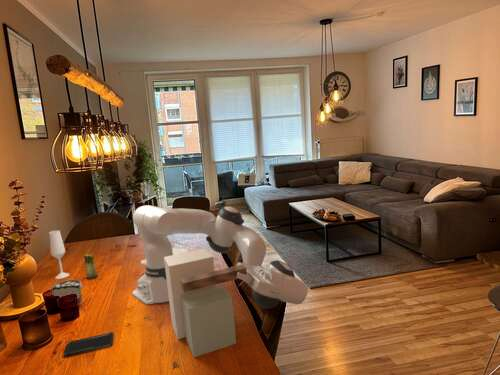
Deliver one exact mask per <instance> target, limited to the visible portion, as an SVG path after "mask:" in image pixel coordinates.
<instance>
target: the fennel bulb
mask: <svg viewBox="0 0 500 375" xmlns="http://www.w3.org/2000/svg"><path fill="white" fill-rule="evenodd" d="M83 258H84V263H85V264H84V266H85V272H86V277H87V278H88V279H94V278H96V277H97V275H98V271H97V269H96V267H95V263H94V256H93V255H92V254H84V255H83Z"/></svg>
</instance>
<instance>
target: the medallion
mask: <svg viewBox="0 0 500 375" xmlns="http://www.w3.org/2000/svg"><path fill="white" fill-rule="evenodd" d="M172 252H173V255H176V254H181V253H186V252H190V250H189V249H187V248H184V247H178V246H177V247H172ZM140 264H141V265H147V262H146V258H145V259H142V260H140Z"/></svg>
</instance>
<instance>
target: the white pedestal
mask: <svg viewBox="0 0 500 375" xmlns="http://www.w3.org/2000/svg"><path fill="white" fill-rule="evenodd" d="M189 251H190V250H189ZM214 262H215V260H214V256H213V254H211V253H210V252H209V250H207V249H206V248H201V249H196V250H191V251H190V252H186V253H181V254H176V255H171V256H166V257H164V263H165V271H166V279H167V287H168V296H169V301H168V302H169V310H170V318H171V319H170V320H171V326H172V328H173V332H174V334H175V336H176V339H177V340H182V339H184V338H185V339H186V332H185V323H184V315H183V306H182V298H181V296H182V295H186V294H190V293H194V292H198V291H202V290H206V289H210V288H214V287H217V284H216V285H212V286H208V287H204V288H200V289H197V290H193V291H189V292H185V293H184V292H183V290H182V289H181V281H180V279H184V278H188V277H192V276H196V275H201V274H205V273H209V272H213V271H216V270H215V263H214Z"/></svg>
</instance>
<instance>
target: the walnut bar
mask: <svg viewBox="0 0 500 375" xmlns="http://www.w3.org/2000/svg"><path fill="white" fill-rule="evenodd" d="M236 272H241V273H242V274H245V275H247V270H246V267H244V266H243V265H238V266H236V265H234V266H231V267H226V268H221V269H218V270H215V271H213V272H209V273H205V274H201V275H196V276H192V277H188V278H184V279H180V281H181V289H182V290H183V292H184V293H185V292H189V291H193V290H197V289H200V288H204V287H208V286H212V285H216V286H217V285H219V284H224V283H228V282H232V281H235V280H238V278H237V277H236V276H235V275H236Z"/></svg>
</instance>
